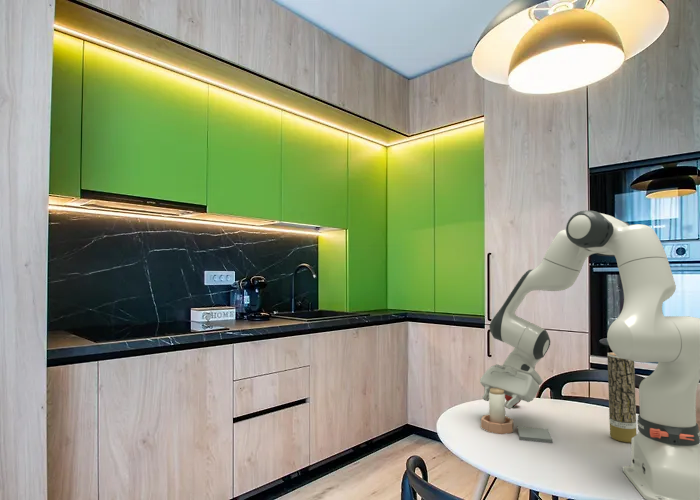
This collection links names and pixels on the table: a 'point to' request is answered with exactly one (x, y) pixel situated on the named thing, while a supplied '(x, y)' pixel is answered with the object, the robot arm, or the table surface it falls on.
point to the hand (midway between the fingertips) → (495, 403)
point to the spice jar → (497, 405)
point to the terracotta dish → (497, 425)
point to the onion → (510, 399)
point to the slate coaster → (534, 434)
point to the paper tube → (621, 398)
